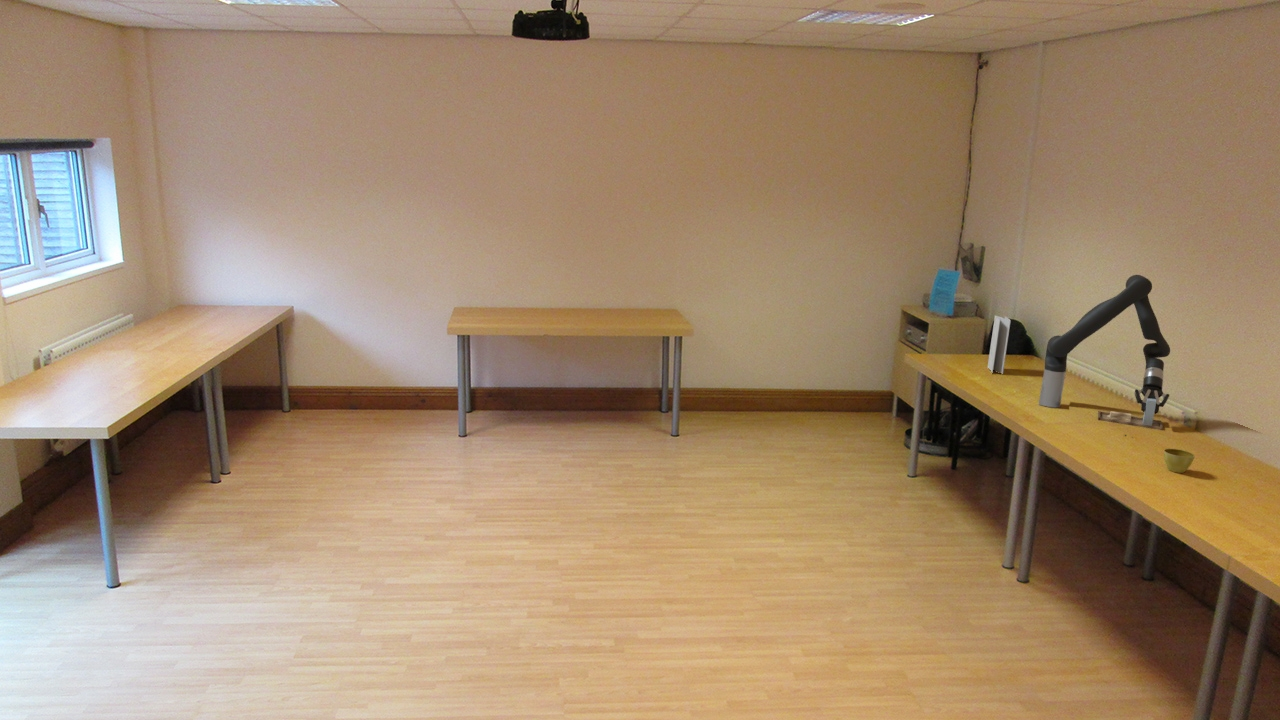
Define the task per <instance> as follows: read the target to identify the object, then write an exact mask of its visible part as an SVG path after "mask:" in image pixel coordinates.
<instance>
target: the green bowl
mask: <svg viewBox="0 0 1280 720" xmlns="http://www.w3.org/2000/svg"><path fill="white" fill-rule="evenodd" d="M1195 457H1196V455H1195V454H1194V453H1192V452H1190V451H1187V450H1183V449H1177V448H1165V449H1163V458H1164V463H1165V465H1166V468H1167V470H1168V471H1170V472H1173V473H1177V474H1183V473H1185V472H1186V471H1187V470H1188V469H1189V468H1190V466H1191V465H1192V463H1193V462H1194V460H1195Z"/></svg>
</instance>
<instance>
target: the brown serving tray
mask: <svg viewBox="0 0 1280 720" xmlns="http://www.w3.org/2000/svg"><path fill="white" fill-rule="evenodd" d="M1107 415H1110V412H1106V411H1101V410H1099V411H1098V412H1097V420H1098V421H1102V422H1108V423H1114V424H1120V425H1128V426H1133V427H1139V428H1147V429H1152V430H1157V431H1158V430H1159V431H1163V429H1164V426H1163V423H1162V420H1160V419H1159V420H1158V419H1153V422H1152V426H1150V425H1144V424H1143V417H1141V416H1140V417H1139V416H1133V415H1131V421H1130V422H1125V421H1118V420H1112V419H1107Z"/></svg>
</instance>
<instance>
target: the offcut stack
mask: <svg viewBox="0 0 1280 720" xmlns="http://www.w3.org/2000/svg"><path fill="white" fill-rule="evenodd" d="M1109 413H1110V415H1107V419H1112V420H1118V421H1125V422H1130V421H1131V416H1132V413H1127V412H1121V411H1112V410H1110V412H1109Z"/></svg>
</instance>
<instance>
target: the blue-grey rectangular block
mask: <svg viewBox="0 0 1280 720" xmlns="http://www.w3.org/2000/svg"><path fill="white" fill-rule="evenodd" d="M1155 406H1156V399H1152V398H1147V400H1146V407H1145V412H1143V417H1142V418H1143V424H1144V425H1150V426H1152V422H1153V420H1154V418H1155V417H1154V416H1155V414H1154V412H1155Z"/></svg>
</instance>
